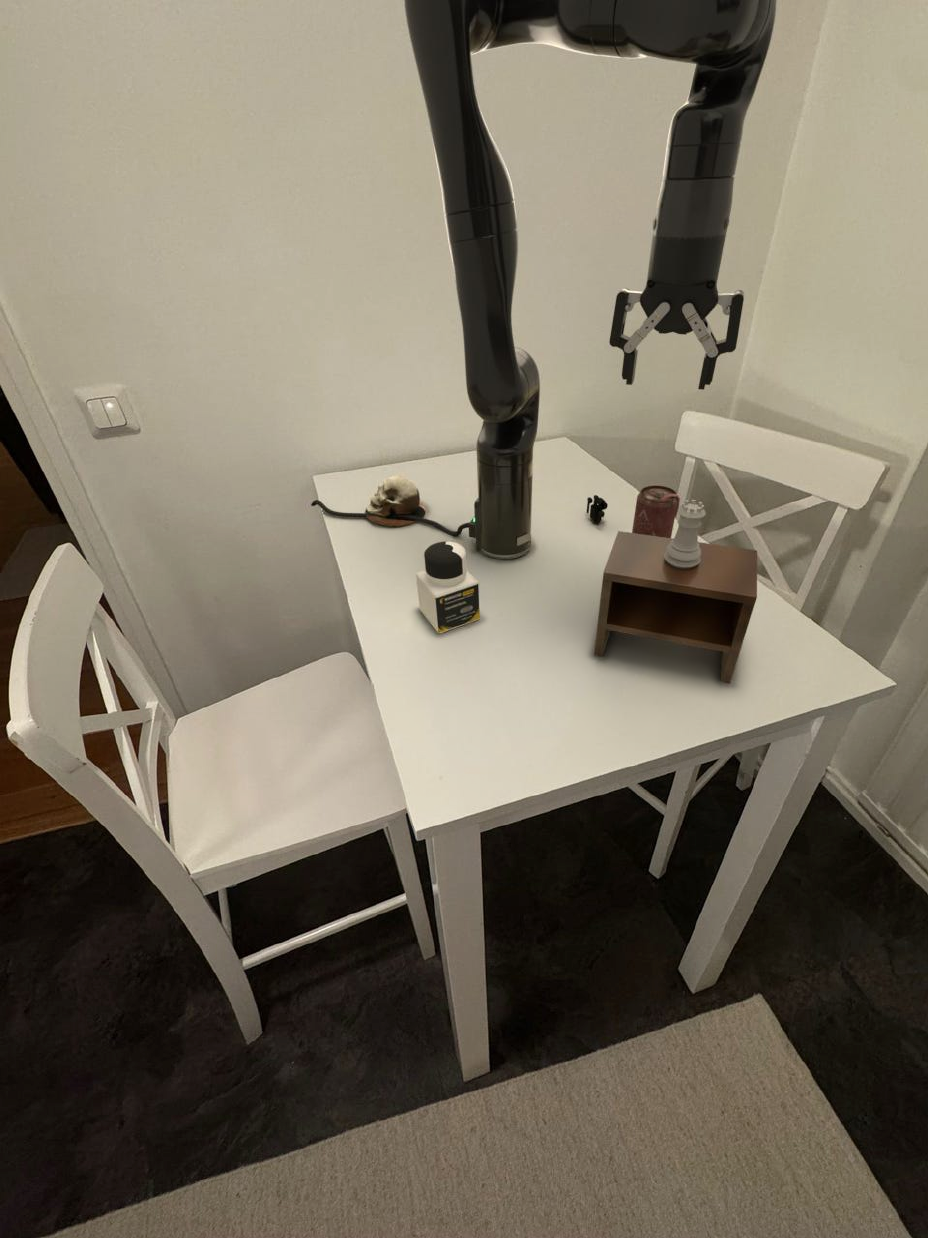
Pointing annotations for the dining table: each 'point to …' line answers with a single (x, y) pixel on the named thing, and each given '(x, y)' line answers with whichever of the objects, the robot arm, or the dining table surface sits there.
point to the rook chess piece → (686, 537)
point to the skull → (395, 502)
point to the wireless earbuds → (596, 509)
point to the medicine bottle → (447, 587)
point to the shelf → (678, 596)
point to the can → (655, 511)
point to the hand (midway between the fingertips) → (664, 385)
